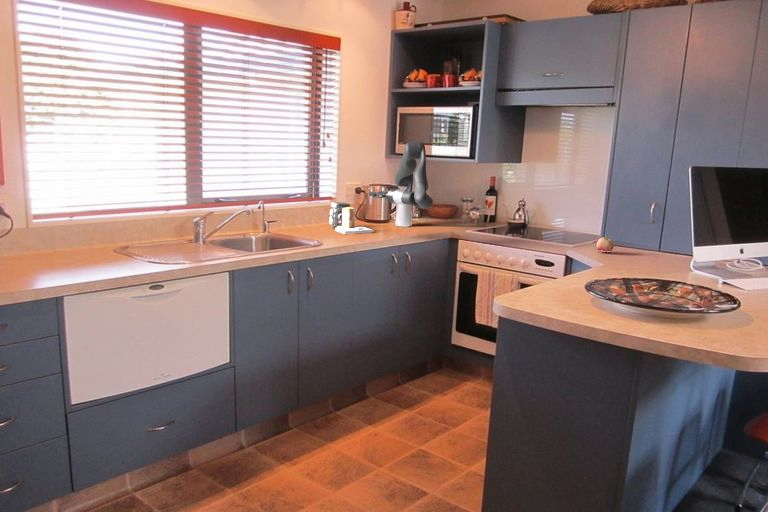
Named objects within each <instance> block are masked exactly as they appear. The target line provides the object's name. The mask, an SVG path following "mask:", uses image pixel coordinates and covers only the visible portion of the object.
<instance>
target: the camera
mask: <svg viewBox="0 0 768 512" xmlns="http://www.w3.org/2000/svg"><path fill="white" fill-rule="evenodd" d="M330 207H331V208H330V210H329V214H328V218H329V224H330V226H332V228H334V229H335V228H337V227H339V226H342V208H346V207H350V208H351V203H348V202H343V201H342V202H341V201H333V202H331V203H330Z"/></svg>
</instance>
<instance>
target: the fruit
mask: <svg viewBox="0 0 768 512" xmlns="http://www.w3.org/2000/svg"><path fill="white" fill-rule="evenodd" d="M596 248H597V250H603V251H611V252H612V251H613V249H614V248H615V243H614V240H613V239H610V238H608V237H607V236H602V237H600V238H599V239H598V240H597V241H596Z"/></svg>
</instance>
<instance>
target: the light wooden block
mask: <svg viewBox="0 0 768 512" xmlns="http://www.w3.org/2000/svg"><path fill="white" fill-rule="evenodd" d="M355 220H356V208H355V207H351V206H350V207H346V208H342V228H344V229H351V228H354V227H356V226H355Z"/></svg>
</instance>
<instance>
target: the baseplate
mask: <svg viewBox="0 0 768 512" xmlns="http://www.w3.org/2000/svg"><path fill="white" fill-rule="evenodd" d="M334 229H335V232H338V233H341V234H343V235H348V234H349V235H351V234H369V233H370V234H372V233H374V229H371V228H367V227H365V226H354V228H351V229H344V228H342V226H339V227H337V228H334Z"/></svg>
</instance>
